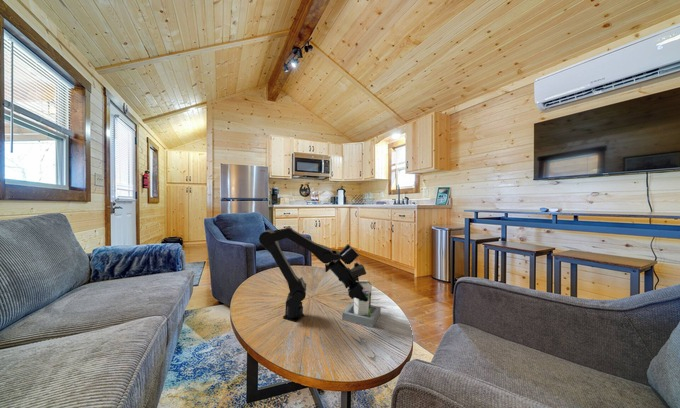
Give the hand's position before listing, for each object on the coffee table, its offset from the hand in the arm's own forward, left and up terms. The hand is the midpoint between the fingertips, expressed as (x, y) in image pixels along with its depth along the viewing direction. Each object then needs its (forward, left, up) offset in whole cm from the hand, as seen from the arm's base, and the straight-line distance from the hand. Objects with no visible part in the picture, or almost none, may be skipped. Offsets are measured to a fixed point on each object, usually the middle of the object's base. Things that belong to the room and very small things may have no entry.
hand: (365, 297), depth 105 cm
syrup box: (-1, -1, -8) cm, 8 cm away
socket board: (-1, -1, -8) cm, 8 cm away
